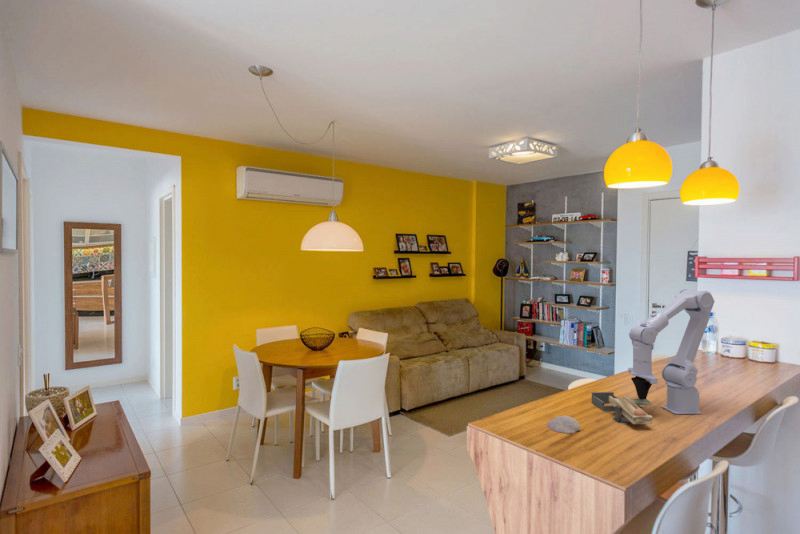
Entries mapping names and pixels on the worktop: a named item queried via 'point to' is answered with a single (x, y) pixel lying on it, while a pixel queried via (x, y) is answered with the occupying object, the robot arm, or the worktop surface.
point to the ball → (638, 412)
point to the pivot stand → (618, 415)
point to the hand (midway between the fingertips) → (642, 398)
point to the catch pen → (603, 400)
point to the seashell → (563, 424)
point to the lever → (632, 409)
